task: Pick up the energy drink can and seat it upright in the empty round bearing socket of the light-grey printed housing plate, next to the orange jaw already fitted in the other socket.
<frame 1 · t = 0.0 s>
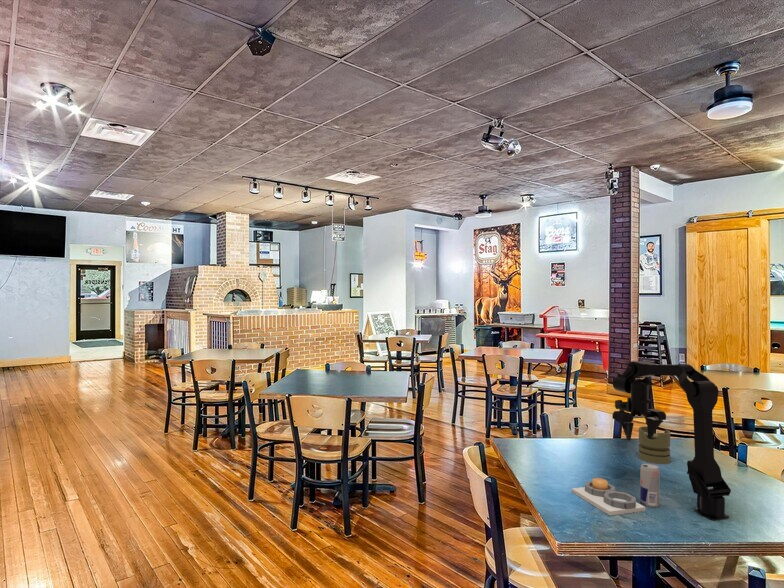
hand: (639, 439, 170), 15 cm above the table, fingers open, 9 cm apart
energy drink: (649, 504, 150), on the table
housing: (606, 501, 152), on the table
piston: (654, 460, 194), on the table
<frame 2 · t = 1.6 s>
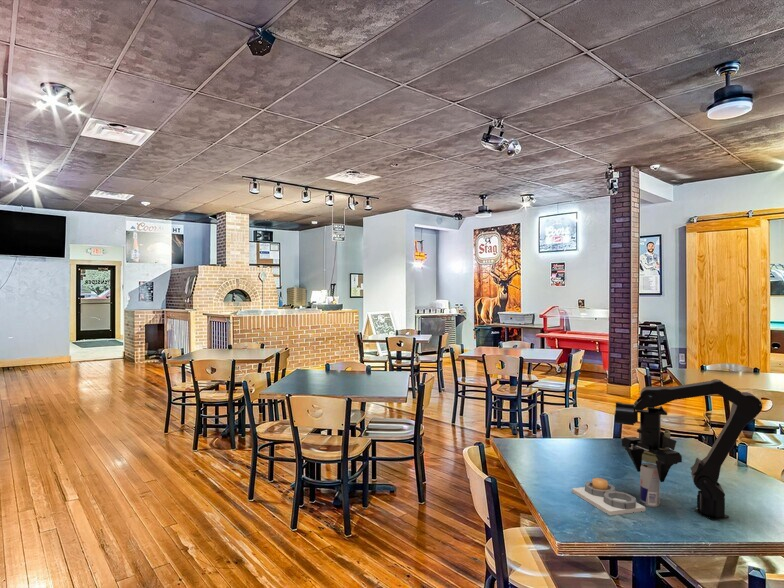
hand: (650, 476, 150), 9 cm above the table, fingers open, 9 cm apart
nothing on the table moved.
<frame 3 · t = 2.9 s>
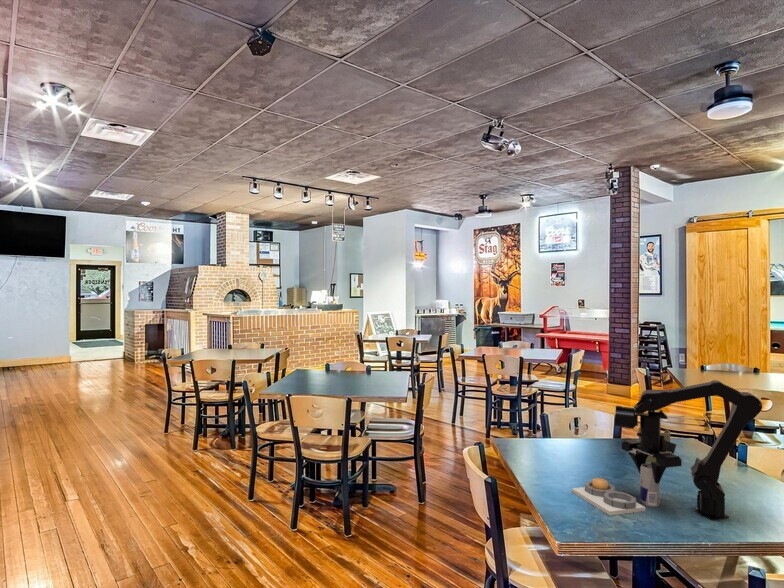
hand: (649, 480, 150), 8 cm above the table, fingers closed on energy drink, 5 cm apart
energy drink: (649, 504, 150), on the table, touching gripper
everything else where it was.
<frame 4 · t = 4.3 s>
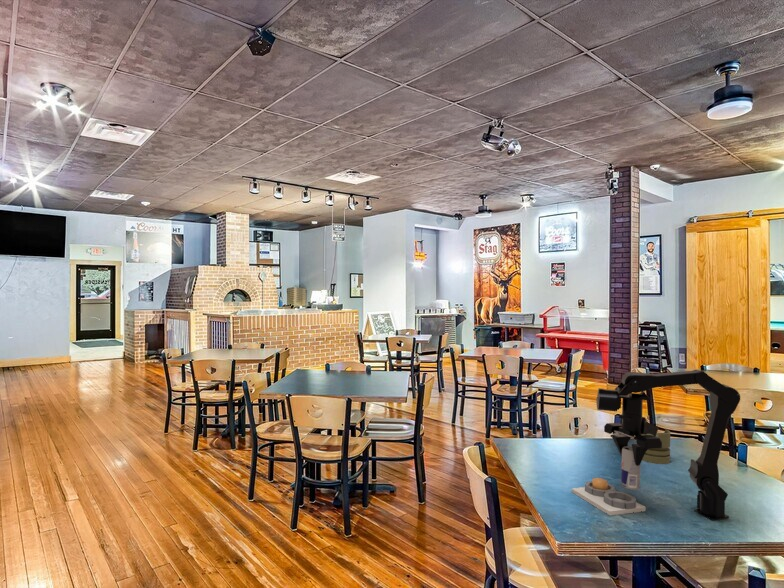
hand: (630, 462, 149), 13 cm above the table, fingers closed on energy drink, 5 cm apart
energy drink: (630, 487, 149), point 6 cm above the table, touching gripper
everything else where it was.
when the fingers open (10 cm above the table, at t = 5.6 s): energy drink stays where it is, resting on housing.
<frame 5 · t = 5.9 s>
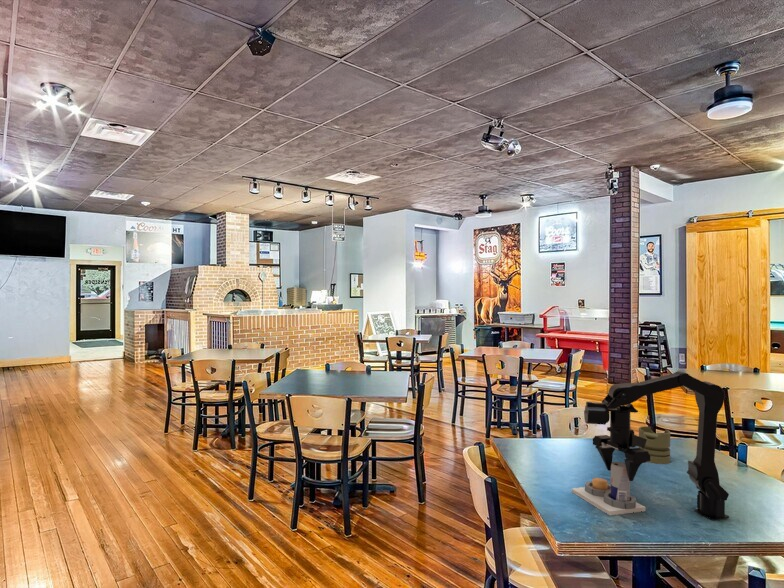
hand: (619, 475, 148), 10 cm above the table, fingers open, 9 cm apart
energy drink: (620, 503, 148), point 1 cm above the table, touching housing
everything else where it was.
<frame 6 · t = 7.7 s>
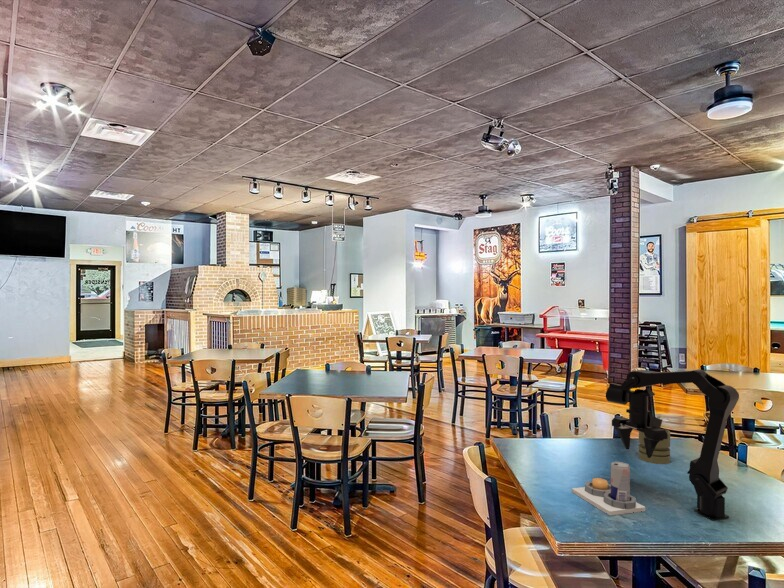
hand: (638, 453, 161), 13 cm above the table, fingers open, 9 cm apart
nothing on the table moved.
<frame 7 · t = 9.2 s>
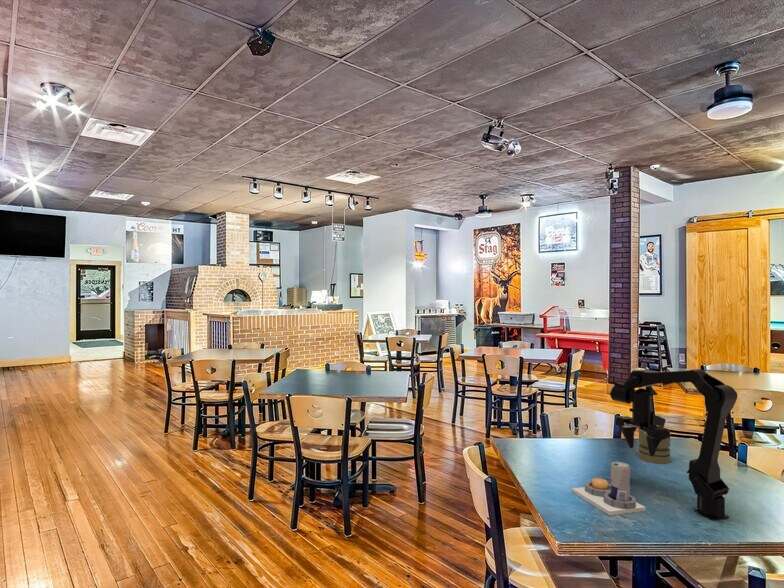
hand: (641, 451, 163), 12 cm above the table, fingers open, 9 cm apart
nothing on the table moved.
at the end: energy drink 0.1 cm from the target spot on the housing, point 1.0 cm above the housing's base; energy drink tilted 0°; the gripper is holding nothing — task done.
